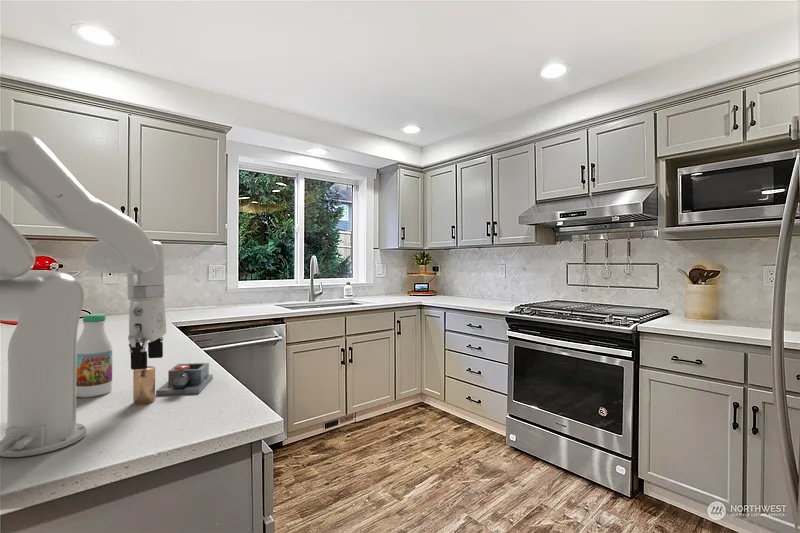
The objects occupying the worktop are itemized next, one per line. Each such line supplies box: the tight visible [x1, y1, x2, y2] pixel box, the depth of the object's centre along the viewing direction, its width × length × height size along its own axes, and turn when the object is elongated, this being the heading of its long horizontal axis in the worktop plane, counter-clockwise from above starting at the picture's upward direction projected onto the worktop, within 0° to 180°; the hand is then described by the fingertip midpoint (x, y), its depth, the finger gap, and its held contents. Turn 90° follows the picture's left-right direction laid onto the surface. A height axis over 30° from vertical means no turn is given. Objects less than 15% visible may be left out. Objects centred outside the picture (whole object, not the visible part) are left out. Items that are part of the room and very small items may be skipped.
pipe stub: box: [132, 365, 156, 406], centre depth 97 cm, size 4×4×8 cm
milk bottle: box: [76, 313, 113, 398], centre depth 103 cm, size 8×8×20 cm
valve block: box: [155, 362, 214, 397], centre depth 110 cm, size 14×10×6 cm
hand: (147, 363), depth 98 cm, fingers open, 9 cm apart
